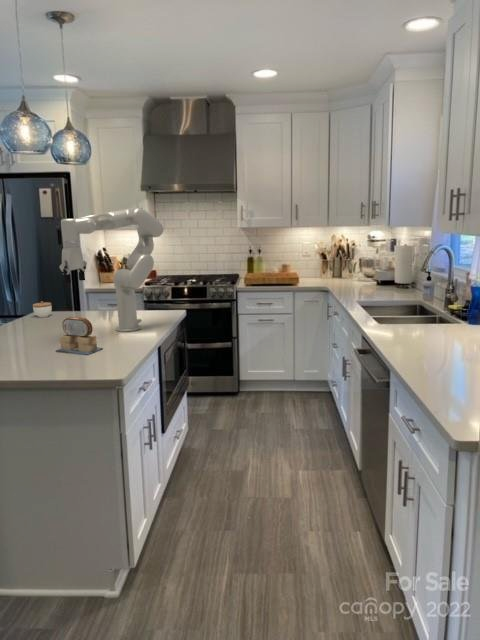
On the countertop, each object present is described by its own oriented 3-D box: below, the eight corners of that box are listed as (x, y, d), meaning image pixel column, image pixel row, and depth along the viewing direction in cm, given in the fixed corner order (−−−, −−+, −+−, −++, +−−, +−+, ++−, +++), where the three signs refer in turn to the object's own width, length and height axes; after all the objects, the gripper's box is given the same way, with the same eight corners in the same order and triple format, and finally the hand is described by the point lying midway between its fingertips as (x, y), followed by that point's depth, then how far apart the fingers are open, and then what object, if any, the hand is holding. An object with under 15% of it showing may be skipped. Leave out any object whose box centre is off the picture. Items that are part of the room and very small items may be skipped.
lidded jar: (34, 315, 306) (33, 300, 304) (53, 314, 309) (51, 299, 307) (33, 318, 296) (31, 303, 294) (52, 317, 299) (50, 302, 297)
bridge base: (71, 346, 230) (70, 332, 228) (102, 349, 222) (101, 334, 221) (55, 351, 221) (54, 337, 219) (87, 355, 214) (86, 340, 212)
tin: (93, 336, 218) (92, 317, 217) (88, 338, 216) (87, 319, 214) (67, 334, 225) (65, 315, 223) (62, 335, 222) (60, 317, 220)
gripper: (78, 244, 242) (81, 279, 246) (51, 246, 227) (55, 283, 230) (90, 244, 239) (93, 279, 243) (64, 246, 224) (68, 284, 227)
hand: (75, 281), depth 236 cm, fingers open, 9 cm apart
